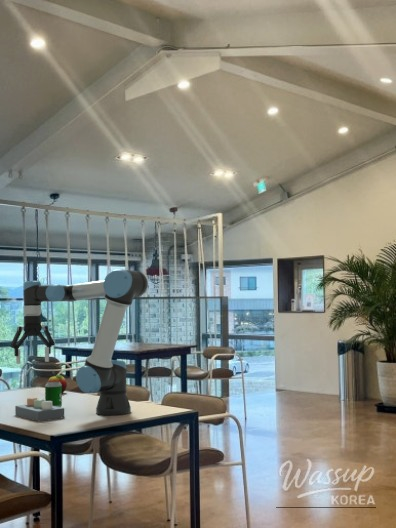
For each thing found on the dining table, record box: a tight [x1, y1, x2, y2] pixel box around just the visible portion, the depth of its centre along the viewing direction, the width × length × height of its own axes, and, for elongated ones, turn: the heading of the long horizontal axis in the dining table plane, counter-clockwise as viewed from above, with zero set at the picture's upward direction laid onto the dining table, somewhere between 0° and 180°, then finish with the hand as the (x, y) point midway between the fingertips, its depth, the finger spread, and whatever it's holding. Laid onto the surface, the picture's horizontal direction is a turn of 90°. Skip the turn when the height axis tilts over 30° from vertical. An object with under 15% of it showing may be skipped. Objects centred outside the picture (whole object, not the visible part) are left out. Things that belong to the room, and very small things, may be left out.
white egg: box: [42, 401, 52, 410], centre depth 278 cm, size 4×4×5 cm
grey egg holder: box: [14, 404, 65, 422], centre depth 283 cm, size 22×12×4 cm, turn 40°
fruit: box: [46, 374, 68, 394], centre depth 359 cm, size 11×11×10 cm
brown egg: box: [26, 397, 38, 407], centre depth 289 cm, size 4×4×5 cm
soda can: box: [44, 381, 63, 408], centre depth 305 cm, size 8×8×12 cm
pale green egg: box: [34, 398, 45, 408], centre depth 283 cm, size 4×4×5 cm
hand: (32, 362), depth 294 cm, fingers open, 13 cm apart
